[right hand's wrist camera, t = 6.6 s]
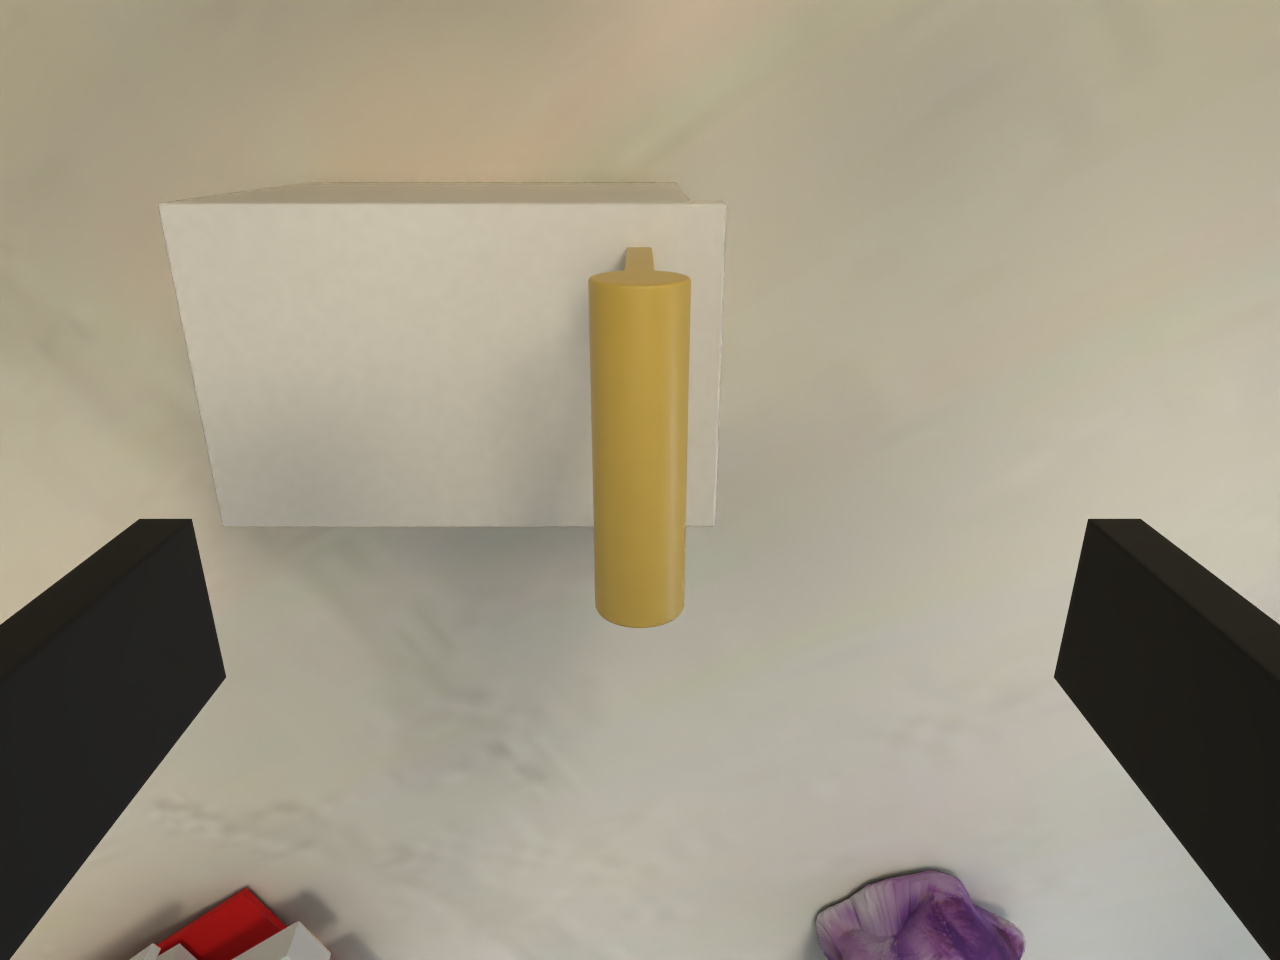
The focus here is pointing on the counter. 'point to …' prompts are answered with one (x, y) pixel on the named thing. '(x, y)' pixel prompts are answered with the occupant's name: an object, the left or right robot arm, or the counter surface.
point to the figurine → (916, 923)
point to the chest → (460, 192)
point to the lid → (464, 370)
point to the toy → (238, 936)
